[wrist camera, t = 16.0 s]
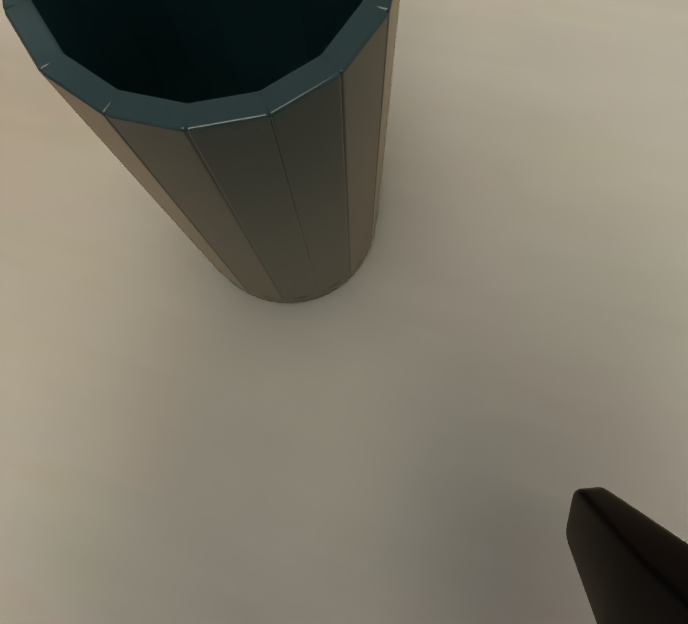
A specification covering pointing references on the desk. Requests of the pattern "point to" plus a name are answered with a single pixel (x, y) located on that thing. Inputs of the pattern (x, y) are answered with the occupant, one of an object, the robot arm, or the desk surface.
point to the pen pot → (236, 121)
